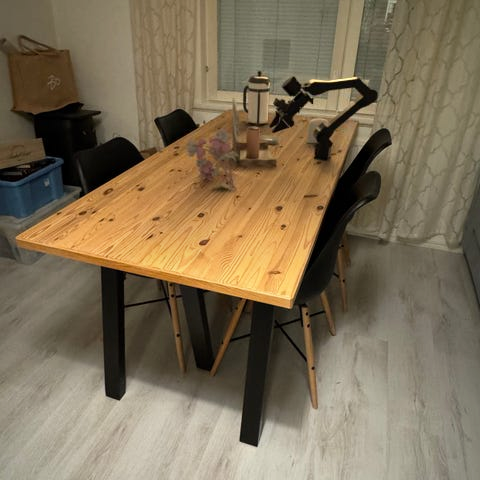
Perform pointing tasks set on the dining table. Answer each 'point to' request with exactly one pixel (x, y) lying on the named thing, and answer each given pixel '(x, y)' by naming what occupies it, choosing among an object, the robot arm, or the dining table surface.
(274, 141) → the grey plate
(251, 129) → the tan tapered cylinder
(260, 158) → the cold frame
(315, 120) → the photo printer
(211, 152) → the flower
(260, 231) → the dining table surface
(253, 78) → the coffee press
